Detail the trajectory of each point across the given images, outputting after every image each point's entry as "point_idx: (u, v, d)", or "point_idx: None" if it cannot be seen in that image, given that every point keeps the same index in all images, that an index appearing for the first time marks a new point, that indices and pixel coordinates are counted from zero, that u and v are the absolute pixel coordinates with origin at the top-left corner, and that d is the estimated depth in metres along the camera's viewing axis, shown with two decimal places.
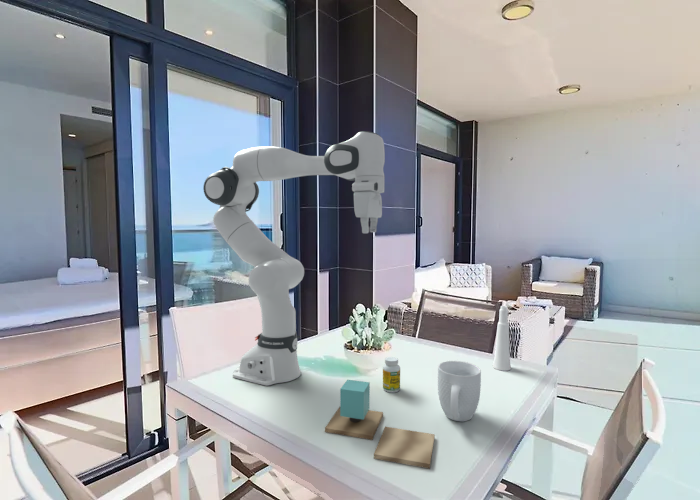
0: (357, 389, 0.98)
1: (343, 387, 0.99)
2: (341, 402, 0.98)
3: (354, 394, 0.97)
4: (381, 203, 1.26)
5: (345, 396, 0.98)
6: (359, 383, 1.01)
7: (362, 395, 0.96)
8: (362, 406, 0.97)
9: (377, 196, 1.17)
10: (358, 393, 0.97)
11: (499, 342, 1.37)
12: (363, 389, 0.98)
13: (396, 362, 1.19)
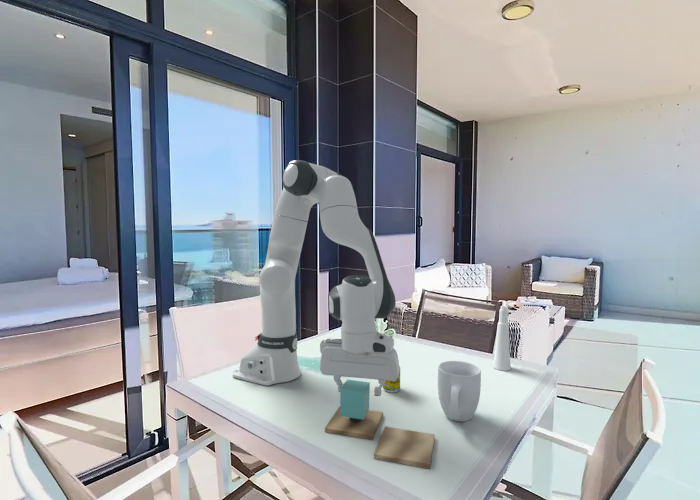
0: (357, 389, 0.98)
1: (343, 387, 0.99)
2: (341, 402, 0.98)
3: (354, 394, 0.97)
4: None
5: (345, 396, 0.98)
6: (359, 383, 1.01)
7: (362, 395, 0.96)
8: (362, 406, 0.97)
9: None
10: (358, 393, 0.97)
11: (499, 342, 1.37)
12: (363, 389, 0.98)
13: None
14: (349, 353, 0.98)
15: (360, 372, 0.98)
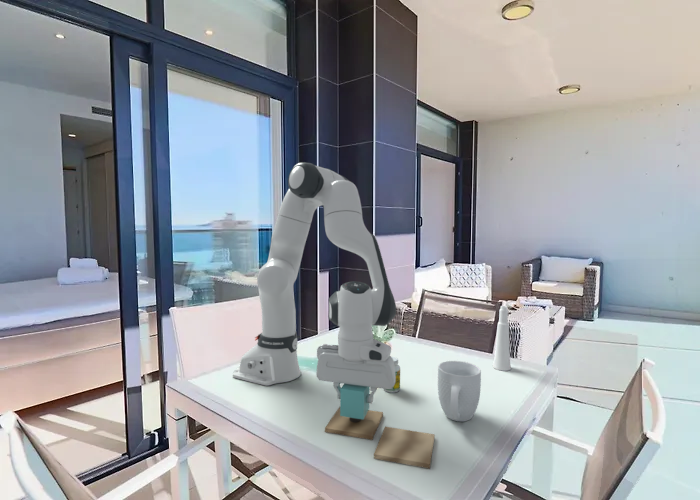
0: (357, 389, 0.98)
1: (343, 387, 0.99)
2: (341, 402, 0.98)
3: (354, 394, 0.97)
4: None
5: (345, 396, 0.98)
6: None
7: (362, 395, 0.96)
8: (362, 406, 0.97)
9: None
10: (358, 393, 0.97)
11: (499, 342, 1.37)
12: (363, 389, 0.98)
13: (396, 362, 1.19)
14: (345, 360, 0.97)
15: (356, 379, 0.98)
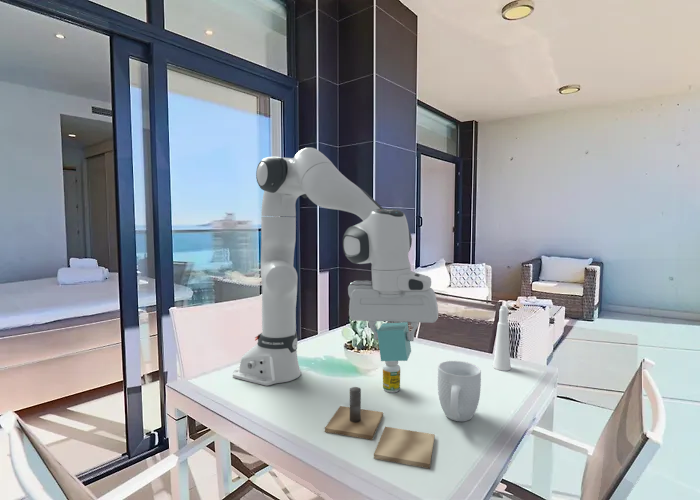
0: (396, 329, 0.88)
1: (380, 329, 0.89)
2: (380, 345, 0.89)
3: (393, 334, 0.88)
4: None
5: (383, 338, 0.88)
6: (396, 324, 0.92)
7: (402, 334, 0.87)
8: (404, 346, 0.87)
9: None
10: (397, 332, 0.87)
11: (499, 342, 1.37)
12: (402, 328, 0.88)
13: (396, 362, 1.19)
14: (382, 294, 0.88)
15: (394, 315, 0.88)
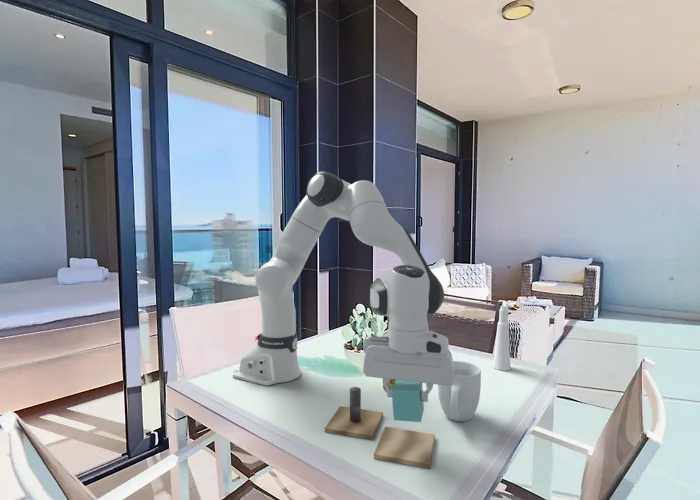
0: (410, 388, 0.87)
1: (394, 388, 0.88)
2: (393, 404, 0.88)
3: (407, 394, 0.86)
4: None
5: (398, 397, 0.87)
6: (411, 382, 0.91)
7: (417, 395, 0.86)
8: (418, 407, 0.86)
9: None
10: (412, 393, 0.86)
11: (499, 342, 1.37)
12: (417, 388, 0.87)
13: None
14: (398, 353, 0.86)
15: (409, 375, 0.87)
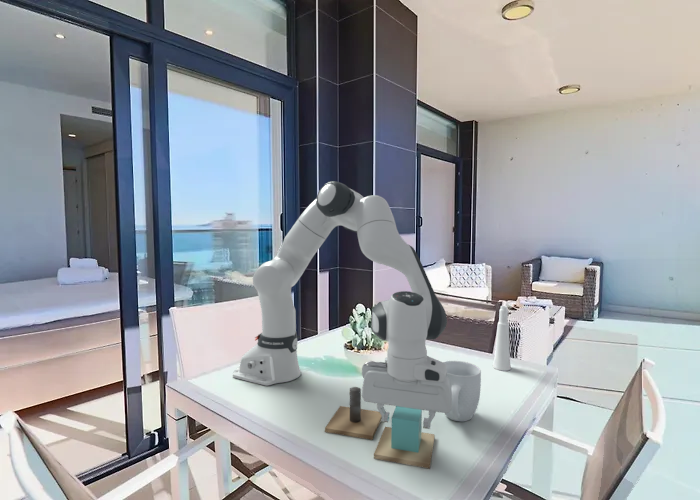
0: (410, 418, 0.87)
1: (394, 416, 0.89)
2: (392, 433, 0.88)
3: (407, 424, 0.87)
4: None
5: (397, 426, 0.87)
6: (411, 410, 0.91)
7: (417, 425, 0.86)
8: (417, 438, 0.86)
9: None
10: (412, 423, 0.86)
11: (499, 342, 1.37)
12: (417, 418, 0.87)
13: None
14: (396, 380, 0.87)
15: (408, 401, 0.87)
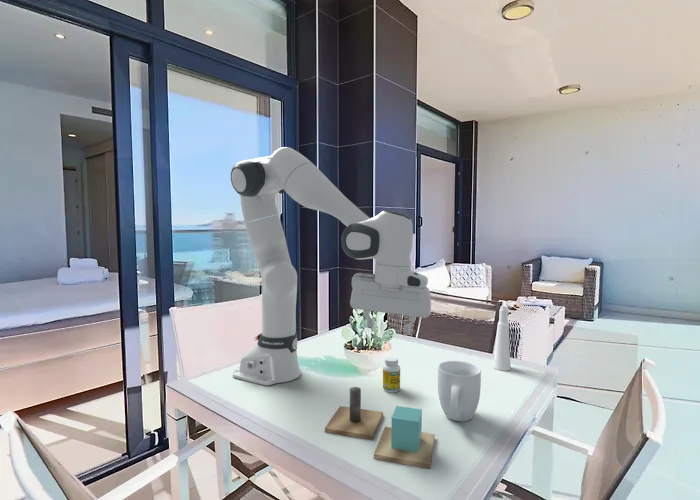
0: (410, 418, 0.87)
1: (394, 416, 0.89)
2: (392, 433, 0.88)
3: (407, 424, 0.87)
4: None
5: (397, 426, 0.87)
6: (411, 410, 0.91)
7: (417, 425, 0.86)
8: (417, 438, 0.86)
9: None
10: (412, 423, 0.86)
11: (499, 342, 1.37)
12: (417, 418, 0.87)
13: (396, 362, 1.19)
14: (382, 287, 0.97)
15: (391, 307, 0.97)
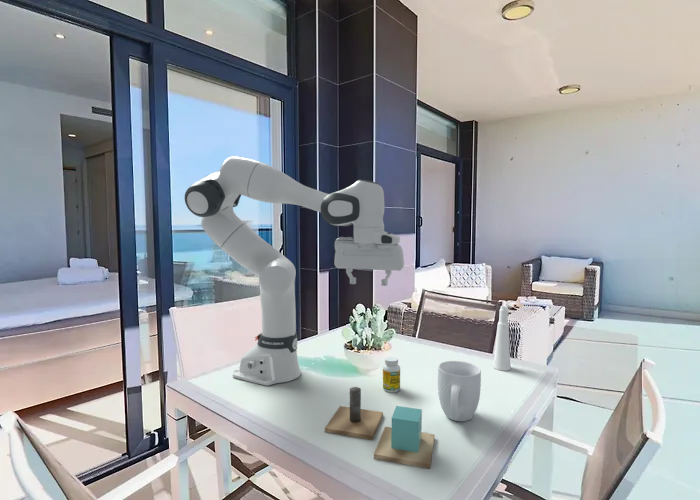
0: (410, 418, 0.87)
1: (394, 416, 0.89)
2: (392, 433, 0.88)
3: (407, 424, 0.87)
4: None
5: (397, 426, 0.87)
6: (411, 410, 0.91)
7: (417, 425, 0.86)
8: (417, 438, 0.86)
9: None
10: (412, 423, 0.86)
11: (499, 342, 1.37)
12: (417, 418, 0.87)
13: (396, 362, 1.19)
14: (360, 246, 1.12)
15: (369, 264, 1.12)
